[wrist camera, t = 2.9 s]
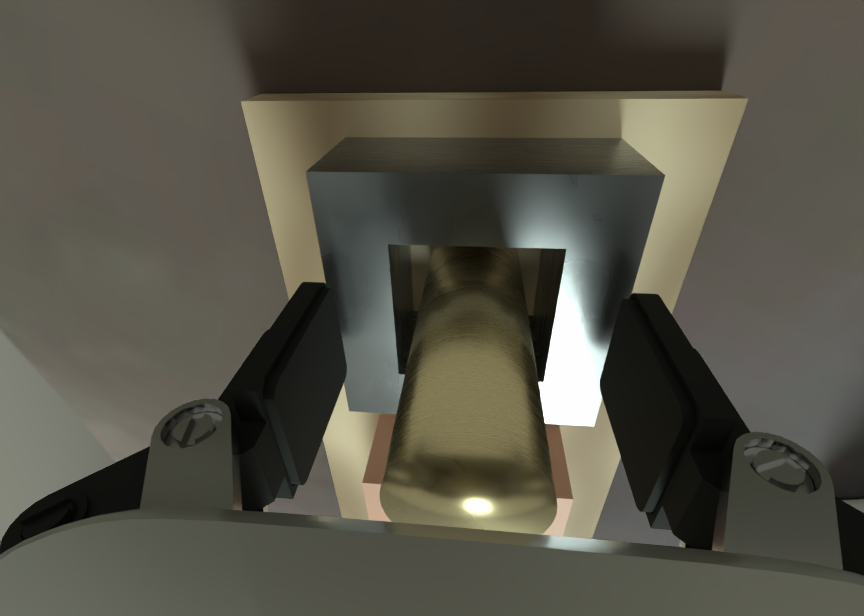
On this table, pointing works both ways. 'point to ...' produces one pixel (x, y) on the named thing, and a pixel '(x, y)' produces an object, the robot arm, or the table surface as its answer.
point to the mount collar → (483, 227)
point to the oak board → (518, 118)
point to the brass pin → (471, 404)
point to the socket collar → (379, 458)
